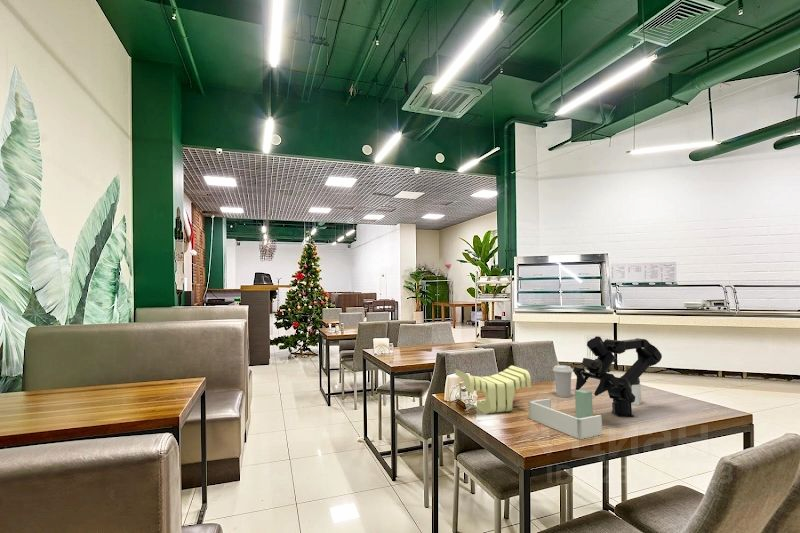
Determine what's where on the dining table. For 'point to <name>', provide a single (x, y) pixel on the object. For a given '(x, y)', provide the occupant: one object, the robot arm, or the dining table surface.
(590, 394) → the block
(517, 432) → the dining table surface
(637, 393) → the jar
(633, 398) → the robot arm
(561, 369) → the coffee cup
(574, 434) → the cream u-shaped wall
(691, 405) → the dining table surface
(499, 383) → the slatted curved stool
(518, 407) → the dining table surface
